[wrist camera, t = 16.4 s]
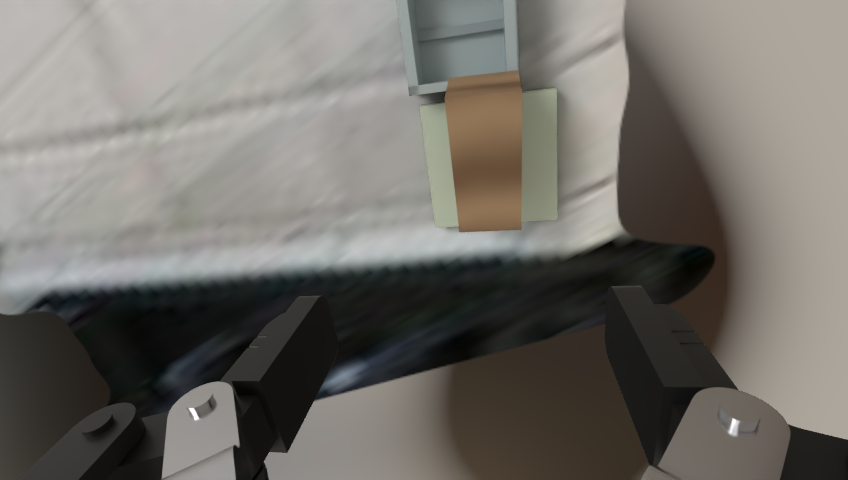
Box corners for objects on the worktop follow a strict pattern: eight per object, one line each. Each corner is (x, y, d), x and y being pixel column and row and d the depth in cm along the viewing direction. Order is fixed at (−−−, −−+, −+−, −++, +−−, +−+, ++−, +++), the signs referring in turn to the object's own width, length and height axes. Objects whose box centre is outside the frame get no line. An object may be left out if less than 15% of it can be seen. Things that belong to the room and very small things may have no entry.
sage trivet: (421, 104, 31) (419, 106, 30) (554, 87, 29) (556, 88, 28) (437, 222, 35) (435, 227, 34) (555, 214, 33) (557, 219, 32)
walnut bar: (449, 77, 27) (444, 98, 24) (517, 70, 26) (522, 90, 23) (461, 202, 33) (459, 232, 30) (517, 199, 32) (521, 229, 29)
